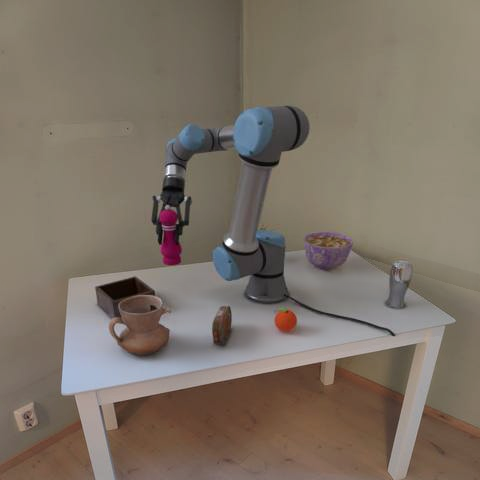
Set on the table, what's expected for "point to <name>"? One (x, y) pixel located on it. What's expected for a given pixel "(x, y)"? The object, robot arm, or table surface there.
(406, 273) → the beer glass
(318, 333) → the table surface
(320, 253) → the bowl of food
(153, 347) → the ceramic jug
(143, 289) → the box
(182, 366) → the table surface
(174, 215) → the pepper mill
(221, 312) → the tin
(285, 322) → the clementine
